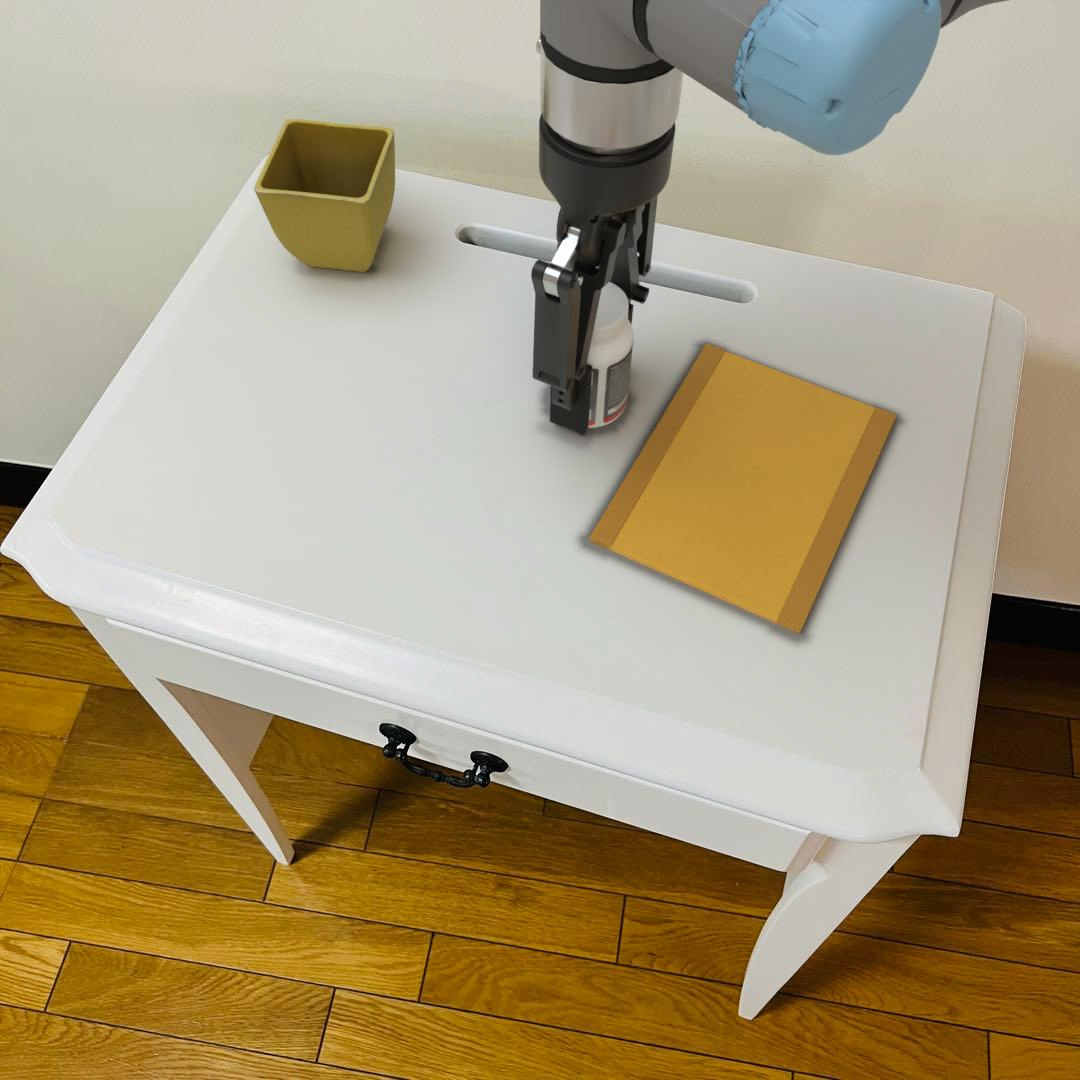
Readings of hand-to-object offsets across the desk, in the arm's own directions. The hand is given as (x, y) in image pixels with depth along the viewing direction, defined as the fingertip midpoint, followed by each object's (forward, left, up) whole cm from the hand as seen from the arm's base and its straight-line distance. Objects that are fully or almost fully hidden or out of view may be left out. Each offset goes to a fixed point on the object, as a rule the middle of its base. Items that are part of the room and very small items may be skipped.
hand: (589, 394), depth 76 cm
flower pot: (+25, -5, -1) cm, 26 cm away
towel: (-13, +1, -1) cm, 13 cm away
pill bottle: (0, 0, -1) cm, 1 cm away
